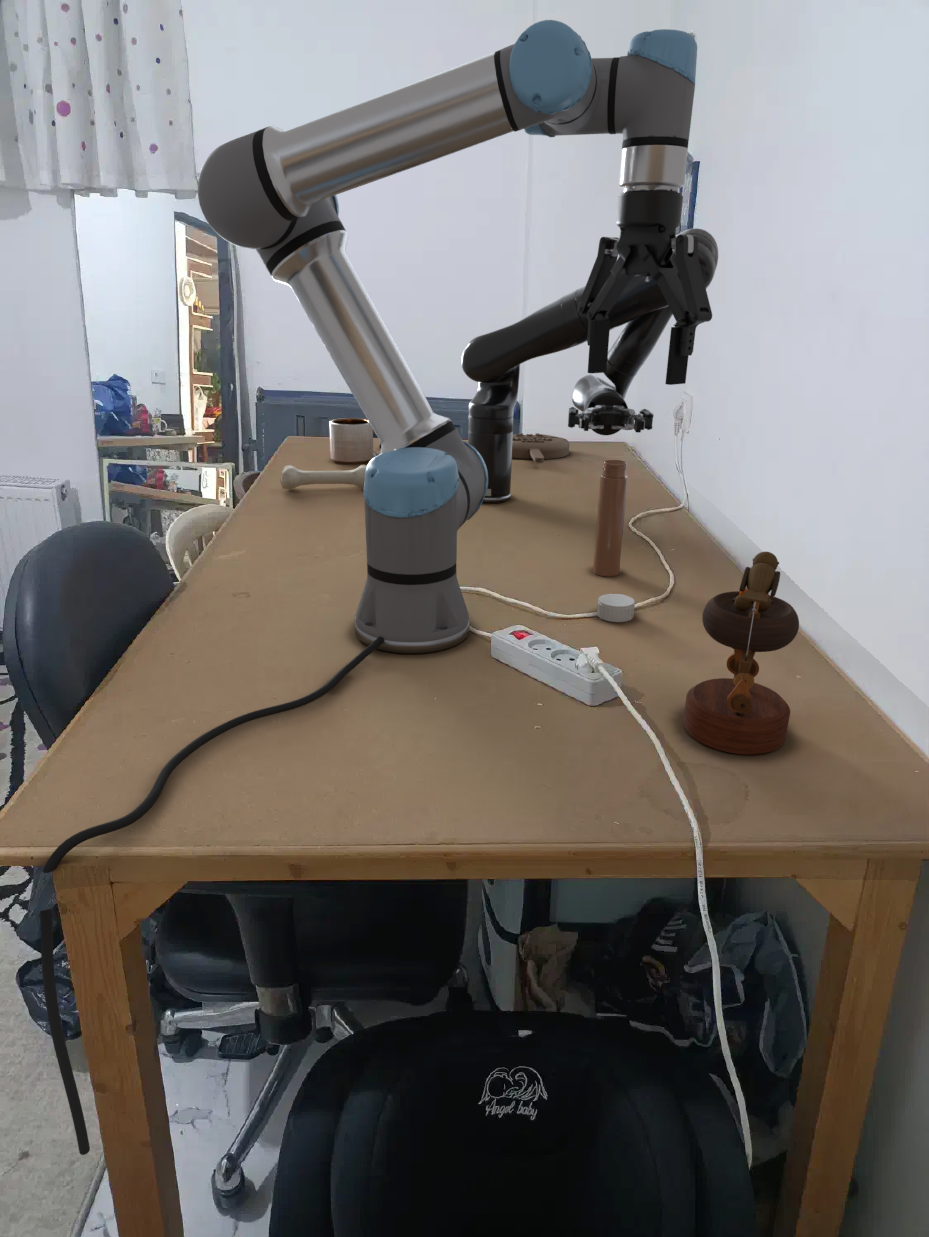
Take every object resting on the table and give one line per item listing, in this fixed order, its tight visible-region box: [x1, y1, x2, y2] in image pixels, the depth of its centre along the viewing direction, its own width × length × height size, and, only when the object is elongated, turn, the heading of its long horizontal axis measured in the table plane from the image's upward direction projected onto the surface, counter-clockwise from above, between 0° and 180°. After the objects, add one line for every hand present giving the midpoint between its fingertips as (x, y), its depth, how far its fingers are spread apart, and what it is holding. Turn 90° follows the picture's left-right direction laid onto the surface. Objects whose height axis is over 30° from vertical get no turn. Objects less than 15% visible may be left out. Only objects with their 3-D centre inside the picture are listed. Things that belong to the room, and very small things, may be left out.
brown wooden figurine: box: [682, 551, 800, 755], centre depth 87 cm, size 15×11×20 cm
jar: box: [592, 459, 629, 577], centre depth 133 cm, size 4×4×18 cm
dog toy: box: [279, 464, 368, 490], centre depth 185 cm, size 20×6×5 cm, turn 99°
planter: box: [328, 417, 375, 464], centre depth 212 cm, size 11×11×10 cm
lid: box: [596, 593, 636, 623], centre depth 119 cm, size 5×5×2 cm
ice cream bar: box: [512, 432, 570, 464], centre depth 220 cm, size 21×28×4 cm
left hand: (634, 378), depth 107 cm, fingers open, 13 cm apart
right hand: (613, 425), depth 138 cm, fingers open, 8 cm apart
